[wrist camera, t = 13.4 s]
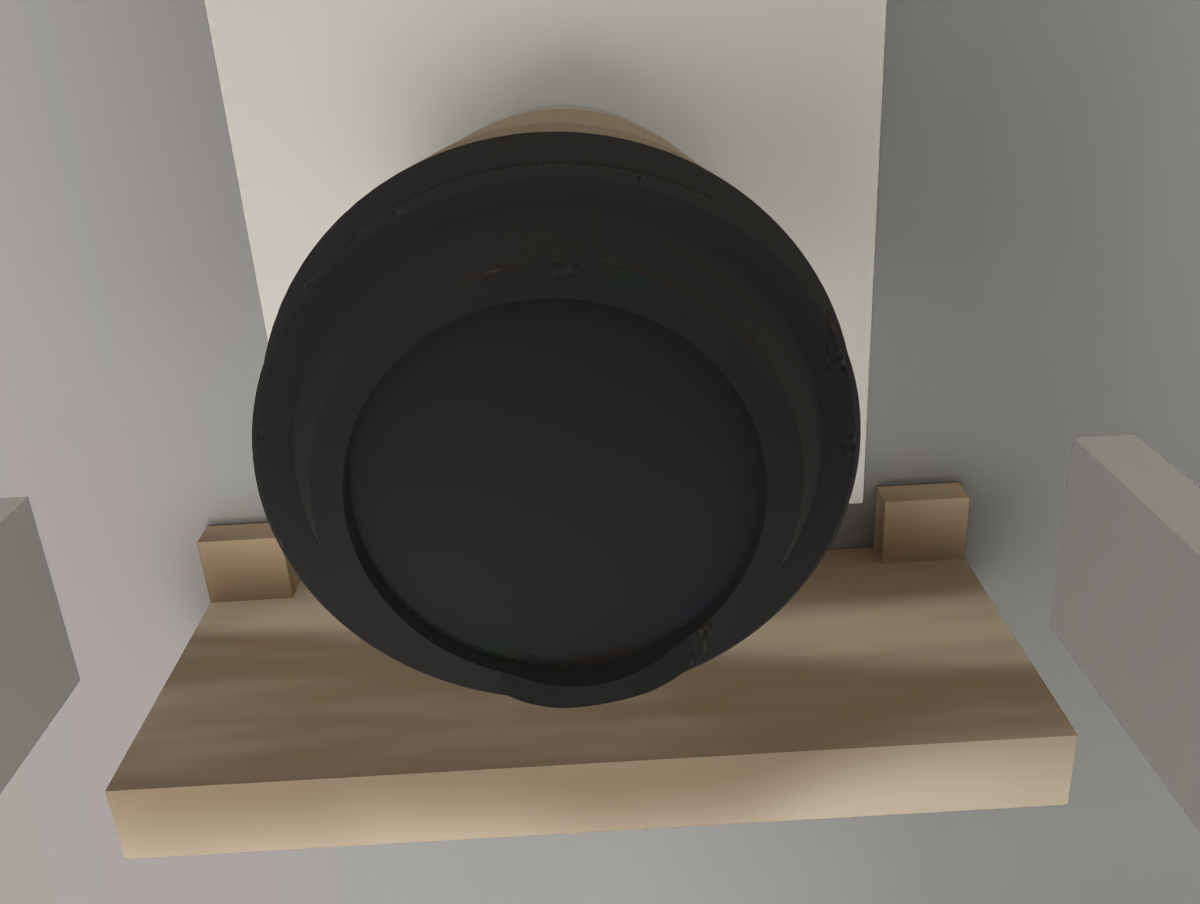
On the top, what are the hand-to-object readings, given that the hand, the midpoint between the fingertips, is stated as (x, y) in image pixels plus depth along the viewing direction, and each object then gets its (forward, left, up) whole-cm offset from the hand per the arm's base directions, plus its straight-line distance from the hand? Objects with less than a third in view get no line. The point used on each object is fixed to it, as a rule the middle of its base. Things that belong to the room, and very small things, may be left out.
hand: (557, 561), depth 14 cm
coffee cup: (0, 0, -16) cm, 16 cm away
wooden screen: (-10, +4, -17) cm, 20 cm away
